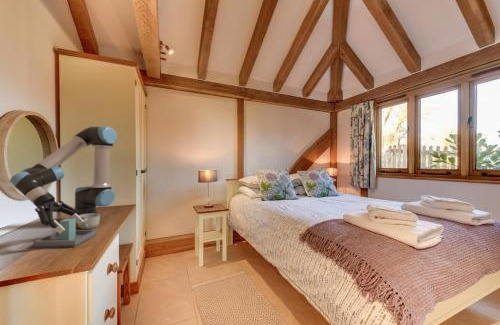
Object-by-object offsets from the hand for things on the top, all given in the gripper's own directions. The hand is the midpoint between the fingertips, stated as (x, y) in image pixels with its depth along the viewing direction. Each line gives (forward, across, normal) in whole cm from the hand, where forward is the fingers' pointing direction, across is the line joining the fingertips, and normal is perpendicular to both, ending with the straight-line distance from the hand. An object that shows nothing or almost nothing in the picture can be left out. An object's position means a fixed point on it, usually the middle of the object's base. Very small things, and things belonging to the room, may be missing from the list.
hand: (72, 227), depth 106 cm
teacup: (+1, -20, -9) cm, 22 cm away
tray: (+3, 0, -7) cm, 7 cm away
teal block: (+3, 0, -6) cm, 7 cm away
